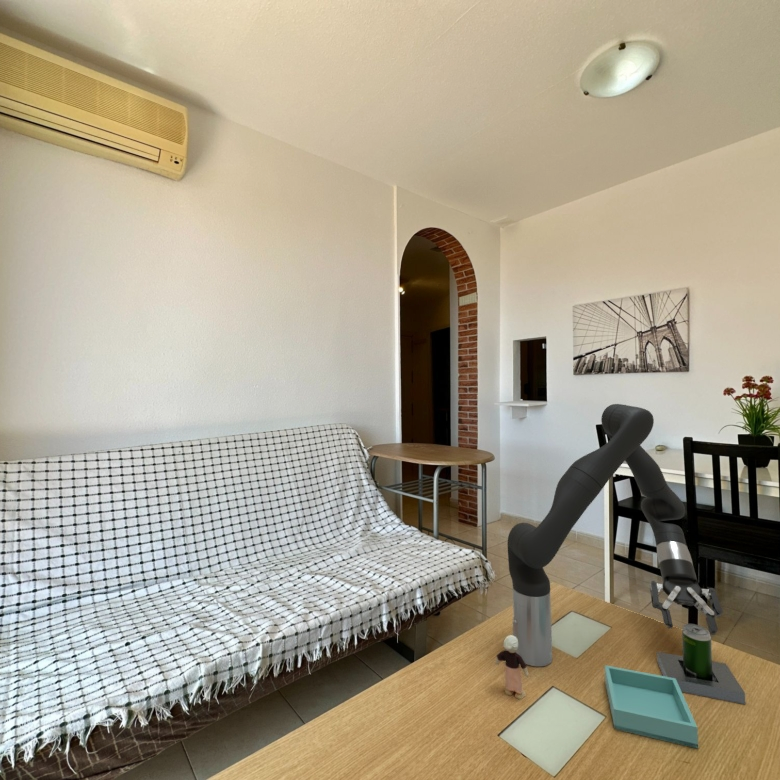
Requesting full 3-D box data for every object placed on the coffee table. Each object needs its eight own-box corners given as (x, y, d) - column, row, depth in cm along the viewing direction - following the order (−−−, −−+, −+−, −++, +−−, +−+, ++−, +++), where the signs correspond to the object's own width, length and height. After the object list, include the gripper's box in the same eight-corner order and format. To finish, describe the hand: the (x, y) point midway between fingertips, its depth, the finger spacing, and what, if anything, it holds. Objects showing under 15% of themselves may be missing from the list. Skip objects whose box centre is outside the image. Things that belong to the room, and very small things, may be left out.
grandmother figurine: (531, 691, 93) (529, 635, 93) (529, 702, 90) (527, 644, 90) (497, 682, 97) (495, 628, 97) (493, 693, 93) (492, 637, 93)
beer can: (707, 693, 91) (705, 639, 91) (679, 679, 96) (677, 628, 96) (716, 683, 94) (714, 631, 94) (689, 670, 99) (687, 620, 99)
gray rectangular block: (668, 689, 93) (668, 678, 93) (657, 661, 102) (656, 651, 102) (745, 704, 88) (744, 692, 88) (726, 674, 97) (725, 663, 97)
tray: (614, 729, 82) (613, 709, 82) (605, 682, 95) (604, 665, 96) (698, 748, 77) (697, 727, 77) (676, 696, 90) (675, 678, 91)
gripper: (646, 554, 109) (659, 620, 98) (711, 560, 104) (732, 631, 93) (642, 566, 114) (654, 630, 103) (704, 572, 109) (723, 641, 98)
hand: (691, 630), depth 98 cm, fingers open, 8 cm apart
